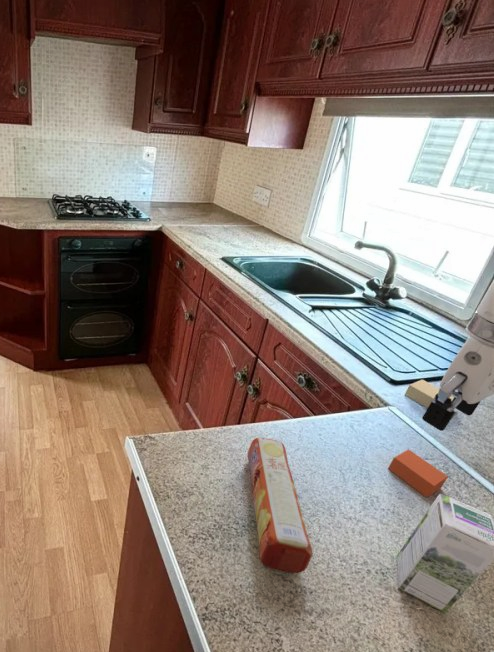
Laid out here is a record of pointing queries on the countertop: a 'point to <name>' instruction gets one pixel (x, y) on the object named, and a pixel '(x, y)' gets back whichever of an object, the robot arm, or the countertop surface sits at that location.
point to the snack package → (277, 508)
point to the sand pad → (423, 392)
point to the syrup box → (446, 552)
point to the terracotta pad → (417, 473)
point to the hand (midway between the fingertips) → (446, 417)
